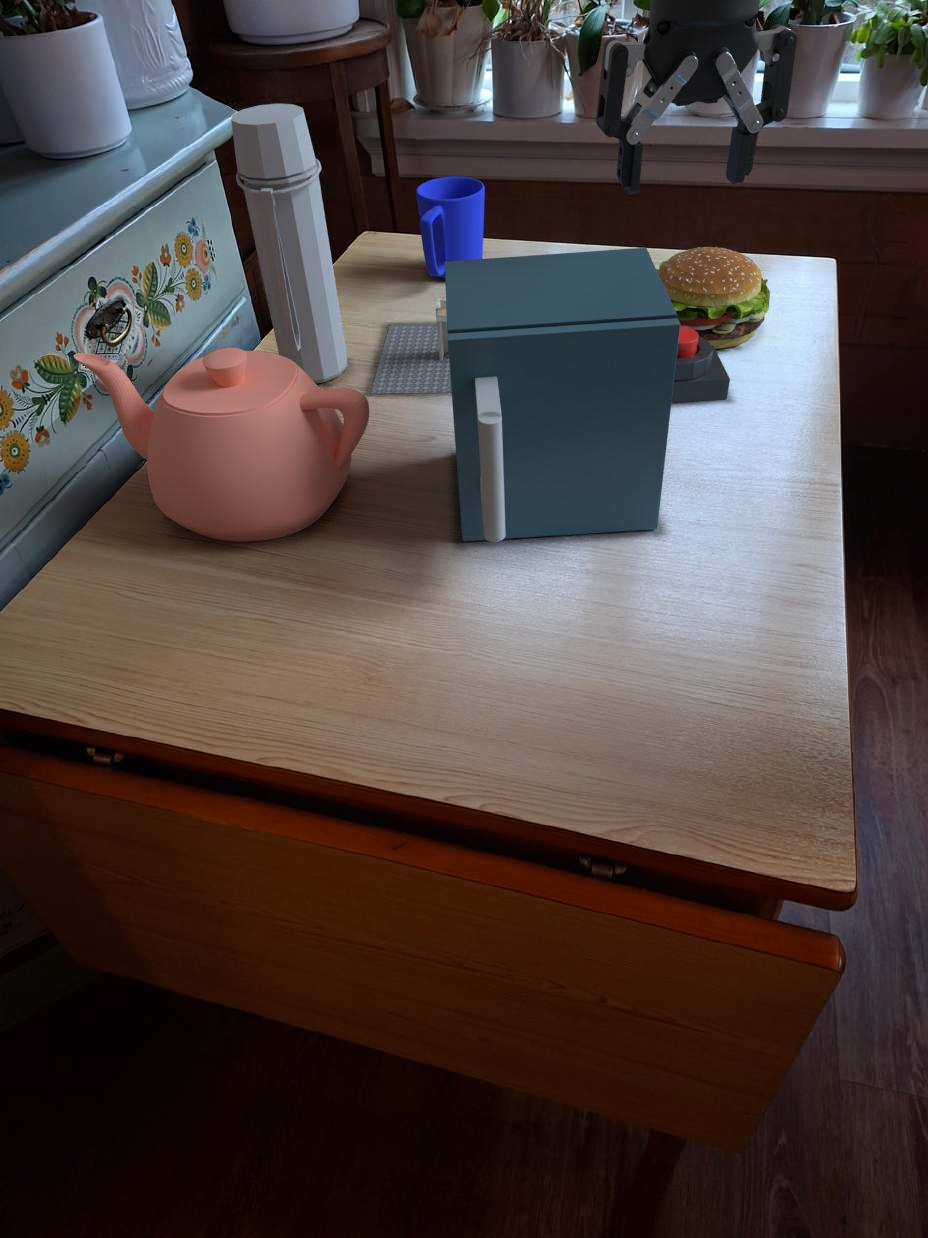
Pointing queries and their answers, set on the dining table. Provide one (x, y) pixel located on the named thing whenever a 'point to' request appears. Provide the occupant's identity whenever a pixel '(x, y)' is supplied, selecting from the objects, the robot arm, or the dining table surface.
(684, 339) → the red push button
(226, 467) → the teapot
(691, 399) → the button box
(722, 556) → the dining table surface
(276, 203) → the water bottle
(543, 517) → the cupboard door
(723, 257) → the food
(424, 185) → the mug
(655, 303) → the cupboard
